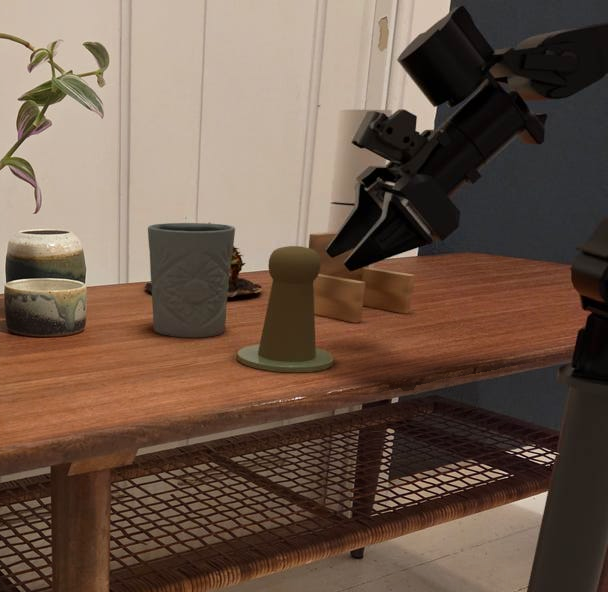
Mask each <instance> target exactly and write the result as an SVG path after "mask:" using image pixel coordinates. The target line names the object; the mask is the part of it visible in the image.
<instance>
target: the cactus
mask: <svg viewBox="0 0 608 592" xmlns="http://www.w3.org/2000/svg"><path fill="white" fill-rule="evenodd" d="M208 224H212V222H210V221H209V222H208ZM242 257H244V255H243V254H241V251H239V248H238V247H236V246H235V245H233V253H232V259H231V266H230V277H229V289H228V296H227V298H233V297H236V296H237V297H238V296H243V295H251V294H257V293H260V292H261V291H262V290H263V286H262V285H260V284H259V283H254V282H252V281H251V280H248V279H246V278H243V277H239V275H240V272H242V269H243V266H245V265H246V264H247V263H246V262H243V259H242ZM144 289H146V290H147V291H149V292H151V293H152V283H151V282H147V283H146V284H145V285H144Z"/></svg>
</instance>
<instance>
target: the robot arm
mask: <svg viewBox="0 0 608 592" xmlns="http://www.w3.org/2000/svg"><path fill="white" fill-rule="evenodd" d="M396 62H398V64H399V65H400V66H401V67H402V69H403V70H404V71H405V72H406V74H407V75H408V76H409V78H410V79H411V80H412V81H413V83H414V84H415V85H416V87H417V88H418V89H419V90H420V92H421V93H422V94H423V96H424V97H425V98H426V99H427V100H428V101H429V103H430V104H431V105H432V107H433V108H437V107H439V106H441V105H443V104H446V106H447V107H448V108H450V109H452V108H454V107H456V106H458V105H459V104H461V103H463V101H465V100H466V99H467V98H469V97H470V96H471V97H470V98H469V99H468V100H466V101H465V102H464V103H463V104H462V105H460V106H459V108H458V109H456V110H455V112H453V113H452V114H451V115H450V116H449V117H448V118H447V119H446V120H445V121H443V122H442V124H440V126H438V127H437V128H436V129H425V130H423V131H422V132H421V133H420V132H419V131H417V122H418V116H417V115H416V114H414V113H412V112H410V111H408V110H406V109H403V108H402V109H397V110H396V111H394V113H393V112H392V114H391V116H390V117H388V116H386V114H384V113H379V112H377V111H368V112H367V113H366V115H365V117H364V119H363V121H362V123H361V125H360V126H359V128H358V130H357V132H356V134H355V136H354V138H353V140H352V141H351V143H352V144H354V145H355V146H357V147H359V148H361V149H363V148H366V149H367V150H369V151H371V152H373V153H375V154H377V155H379V156H381V157H383V158H384V159H386V161H387V163H386V165H385V167H383V166H369V167H368V168H367V169H366V170H365V171H364V172H362V173H361V174H360V175H359V176H358V177H357V178H356V180H357V182H358V183H359V184H358V183H356V184H355V187H354V189H355V205H354V208H353V209H352V211H351V212H350V214H349V216H348V217H347V219H346V220H345V222H344V223H343V225H342V226H341V228H340V229H339V231H338V232H337V234H336V235H335V237H334V238H333V240H332V241H331V243H330V244H329V246H328V247H327V249H326V253H327V254H328V255H329V256H330V257H331V258H334V257H336V256H338V255H340V254H343V253H345V252H347V251H349V250H351V249H353V248H355V247H356V248H355V249H354V250H353V251H352V253H351V254H350V255H349V257H348V258H347V259H346V260H345V262H344V265H345V267H346V268H347V269H348V270H349V271H355V270H357V269H360V268H363V267H365V266H368V265H371V264H373V263H374V264H375V263H379V262H381V261H384V260H387V259H389V258H392V257H395V256H398V255H401V254H404V253H407V252H409V251H413V250H415V249H418V248H421V247H424V246H430V245H432V244H434V240H437V241H439V242H444V241H445V240H446V239H447V238H448V237H450V235H452V234H453V233H454V232H455V231H456V230H457V229H458V228H459V227H460V226H459V225H460V220H461V213H462V212H461V211H460V209H459V208H458V207H457V206H456V204H455V203H454V202H453V201H452V199H450V198H451V197H452V196H453V195H454V194H455V193H457V192H458V191H459V190H460V189H461V188H462V187H463V186H464V185H465V184H470V185H474V184H475V183H476V182H477V181H479V179H481V178H482V177H483V176H482V175H481V173H480V171H481V170H482V169H483V168H484V167H485V166H487V164H488V163H490V162H491V161H492V160H493V159H494V158H495V157H496V156H498V154H500V153H501V152H502V151H503V150H504V149H505V148H506V147H507V146H508V145H510V144H511V143H512V142H513V141H514V140H515V139H517V137H519V139H520V140H521V141H522V143H523V144H526V145H542V144H544V142H545V139H546V137H545V136H546V124H547V123H546V122H547V120H548V117H549V116H548V114H547V113H545V112H544V113H538V112H537V113H534V112H533V110H531V108H530V107H529V106H528V105H527V103H526V101H530V102H535V101H550V100H551V101H553V100H562V99H566V98H569V97H571V96H574V95H575V94H577V93H579V92H581V91H583V90H585V89H586V88H588V87H590V86H591V85H594V84H596V83H597V82H599V81H600V80H603V79H604V78H605V77H607V76H608V21H605V22H604V21H603V22H599V23H594V24H587V25H581V26H577V27H576V26H575V27H571V28H570V27H569V28H566V29H560V30H556V31H551V32H546V33H541V34H537V35H533V36H530V37H527V38H526V39H524V40H522V41H521V42H520V43H519V44H518V45H516V46H515V47H513V46H510V47H504V48H500V49H494V48H493V47H492V45H490V43H489V42H488V40H487V39H486V38H485V36H484V35H483V34H482V33H481V31H480V30H479V28H478V27H477V26H476V24H475V22H474V20H473V17H472V15H471V13H470V12H469V11H468V9H467V8H466V6H465V5H458V6H456V7H453V8H452V9H451V10H450V11H449V12H448V13H447V14H446V15H445V16H443V17H441V19H439V20H438V21H436V22H435V23H434V24H432V26H430V27H429V28H428V29H427V30H426V31H424V32H421V33H419V34H417V36H416V37H415V38H414V39H413V40H412V41H411V42H410V43H409V44H408V45H407V46H406V47H405V48H404V49H403V50H402V52H401V53H400V54H399V56H398V57H397V59H396ZM501 84H505V85H508V86H509V88H510V90H511V91H509V92H507V91H506V90H505V89H504V87H502V86H501ZM479 87H480V88H479ZM478 88H479V89H478ZM476 90H477V91H476ZM475 91H476V92H475ZM474 92H475V93H474ZM472 94H473V95H472ZM432 238H433V239H434V240H433V239H432ZM575 250H576V251H579V253H578V254H577V255H576V256H575V258H574V260H573V261H572V263H571V265H570V271H571V272H570V280H571V283H572V286H573V288H574V290H575V291H576V292H577V293H578V294H579V299H580V306H581V309H582V310H583V311H585V312H590V313H589V314H588V315H587V317H586V320H585V325H583V326H582V327H581V328H579V329H578V330H577V334H576V339H575V344H574V348H573V354H572V359H571V363H570V364H571V366H572V368H575V369H574V370H573V371H572V375H571V376H574V377H579V378H586V379H592V380H598V381H605V382H608V215H606V216H605V217H603V219H601V221H599V223H598V224H597V226H596V227H595V229H594V230H593V232H592V233H591V235H590V236H589V237H588V238H587V239H585V241H584V242H582V243H580V244H578V245H577V246H576V247H575Z"/></svg>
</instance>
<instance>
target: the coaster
mask: <svg viewBox="0 0 608 592" xmlns="http://www.w3.org/2000/svg"><path fill="white" fill-rule="evenodd" d="M259 346H260V343H259V344H252V345H247V346H243V347H241V348H240V349H238V351H237V352H236V359H237V361H238V362H239V363H240V364H243V365H245V366H247V367H250V368H254V369H256V370H257V369H258V370H261V371H268V372H277V373H292V374H293V373H313V372H318V371H319V372H320V371H323V370H327V369H329V368H331V367H332V366H333V365H334V359H335V357H334V355H333V354H331V353H330V352H329V351H326V350H324V349H321V348H317V347H316V357H315V358H314V359H312V360H309V361H302V362H285V361H276V360H271V359H266V358H264V357H261V356H260V355H258V350H259Z"/></svg>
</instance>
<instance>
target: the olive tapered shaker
mask: <svg viewBox="0 0 608 592" xmlns="http://www.w3.org/2000/svg"><path fill="white" fill-rule="evenodd" d="M320 266H321V262H320V257H319V255H318V253H317V252H316V251H315V250H313V249H310V248H309V247H304V246H299V245H290V246H281V247H278V248H276V249H274V250H273V251H272V252H271V254H270V256H269V259H268V272H269V275H270V277H271V279H272V282H271V287H270V291H269V292H270V293H269V297H268V302H267V306H266V312H265V317H264V322H263V327H262V330H261V331H262V332H261V336H260V341H259V344H260V346H259V350H258V355H260V356H261V357H264V358H266V359H271V360H276V361H285V362H302V361H309V360H312V359H314V358H315V357H316V348H317V345H316V343H317V342H316V320H315V314H314V288H313V281H314V280H315V279H316V278H317V276H318V274H319V271H320Z"/></svg>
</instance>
